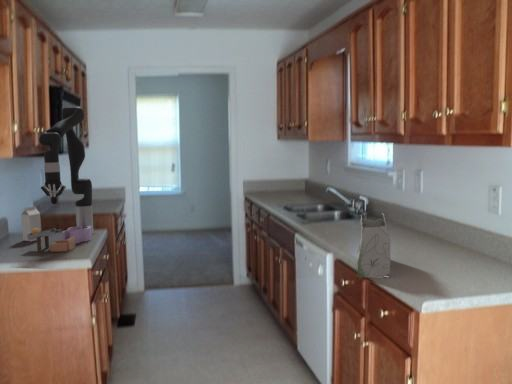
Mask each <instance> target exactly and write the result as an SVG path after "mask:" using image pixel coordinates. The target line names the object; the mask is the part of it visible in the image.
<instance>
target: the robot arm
mask: <svg viewBox="0 0 512 384" xmlns="http://www.w3.org/2000/svg"><path fill="white" fill-rule="evenodd" d="M61 117H62V118H61V119H62V120H59V121H57V122H56V123H54V125H53V126H52V127H51V128H47V130H45V131H43V132H42V133H40V135H39V138H38V141H39V144H40V145H41V146H43V147H51V149H49V150H47V151H44V153H43V157H44V158H43V159H44V160H43V161H44V164H43V165H44V167H43V168H44V169H43V171H44V180H45V182H44V184H43V185H42V186H40V189H41V191H42V192H43V193H44V194H45V196H47V197H50V203H51V204H52V205H57V203H58V202H59V201H58V197H59V196H61V195H62V194H63V192H64V191H65V190H66V187H67V185H63V183H62V180H61V167H60V159H59V158H60V157H59V153H60V148H61V144H62V138H63V137H64V136H65V137H66V138H65V139H66V147H67V154H68V160H69V169H70V187H71V192H72V193H73V194H74V195H83V197H82V198H81V199H77V200H76V201H75V220H76V227H77V226H82V229H86V226H92V235H93V234H94V218H93V216H94V215H93V184H92V180H91V179H90V178H79V174H80V173H79V171H80V169H81V167H82V164H83V163H84V161H85V158H86V152H85V150H86V149H85V145H84V142H83V141H82V140H81V138H80V137H79V136H78V134H76V132H75V129H74V127H75V126H77V125H79V124H81V123H82V122H83V121H84V118H85V111H84V109H83V108H82V107H81V106H65V107H63V108H62V110H61Z"/></svg>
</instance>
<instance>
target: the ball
mask: <svg viewBox="0 0 512 384" xmlns="http://www.w3.org/2000/svg"><path fill="white" fill-rule="evenodd" d="M31 233H32V234H36V233H40V231H39V229H37V228H34V229H33V230H32V232H31Z"/></svg>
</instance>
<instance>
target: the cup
mask: <svg viewBox="0 0 512 384" xmlns="http://www.w3.org/2000/svg"><path fill="white" fill-rule="evenodd" d="M75 248H76V244H75V236H73V237H71V238H69V239H67V240H63V239H62V240H61V239H60V240H59V239H57V240H56V241H55V242H53V243H49V252H70V251H72V250H73V249H75Z"/></svg>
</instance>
